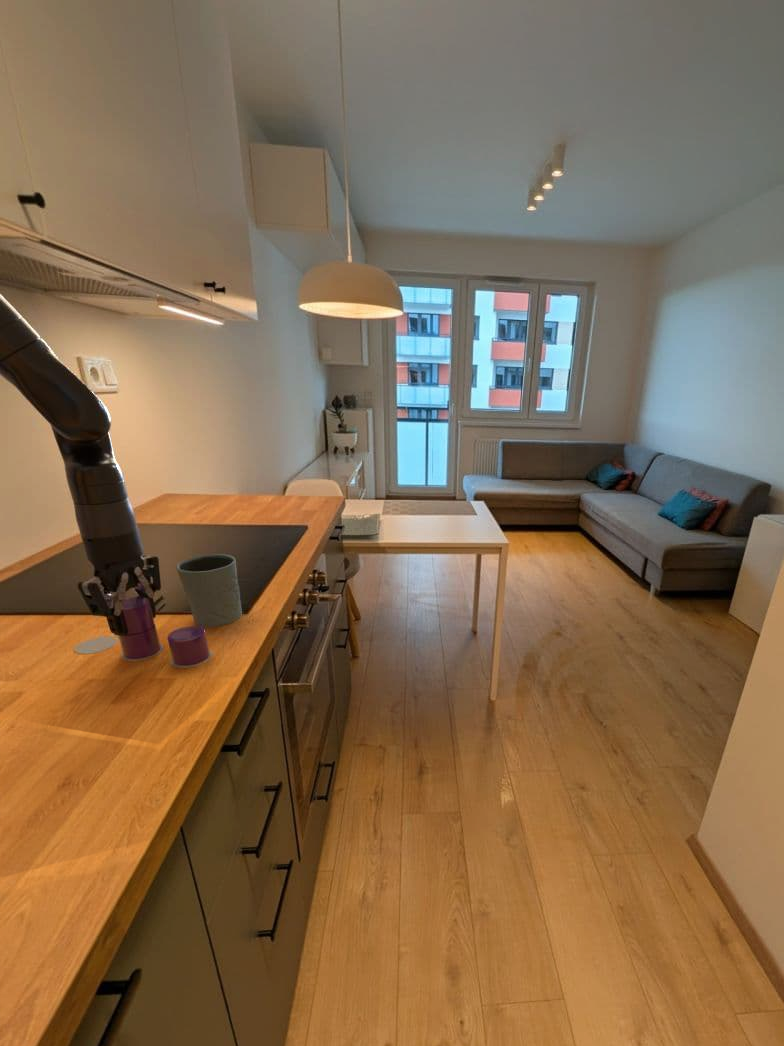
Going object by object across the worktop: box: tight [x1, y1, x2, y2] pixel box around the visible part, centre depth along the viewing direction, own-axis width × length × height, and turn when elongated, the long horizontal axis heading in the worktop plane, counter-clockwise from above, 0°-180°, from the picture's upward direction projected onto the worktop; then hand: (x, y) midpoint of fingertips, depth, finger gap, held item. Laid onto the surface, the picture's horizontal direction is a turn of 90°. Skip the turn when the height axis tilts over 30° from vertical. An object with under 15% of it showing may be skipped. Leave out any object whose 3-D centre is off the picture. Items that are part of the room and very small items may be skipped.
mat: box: [73, 635, 213, 669], centre depth 87 cm, size 26×12×1 cm, turn 78°
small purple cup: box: [117, 623, 161, 659], centre depth 86 cm, size 6×6×4 cm
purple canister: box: [166, 625, 210, 666], centre depth 84 cm, size 6×6×4 cm
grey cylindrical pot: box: [176, 553, 243, 628], centre depth 97 cm, size 10×10×12 cm
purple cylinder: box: [111, 595, 156, 635], centre depth 84 cm, size 6×6×4 cm
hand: (135, 625), depth 85 cm, fingers closed on purple cylinder, 5 cm apart
